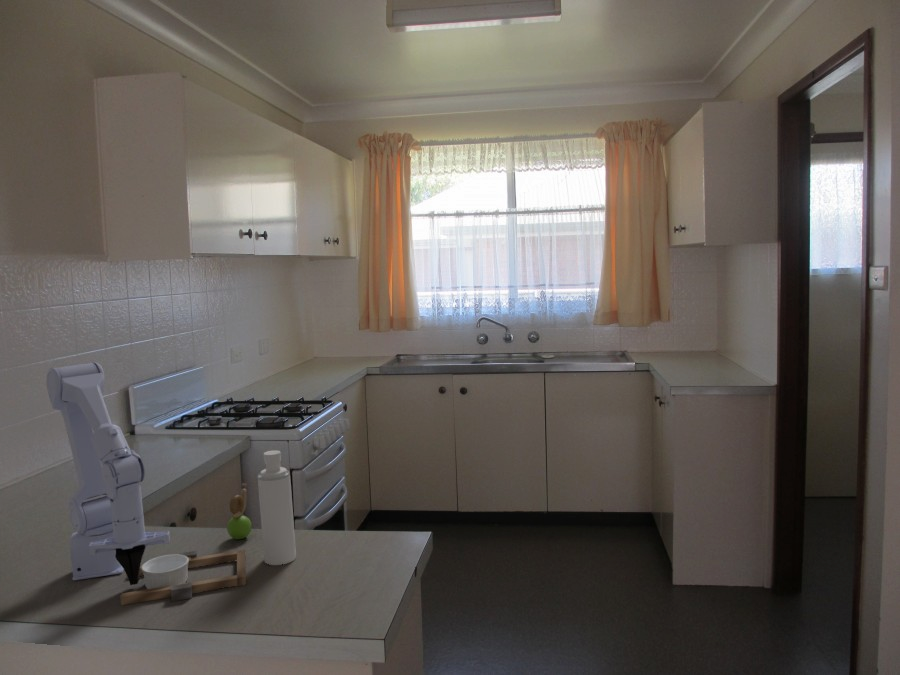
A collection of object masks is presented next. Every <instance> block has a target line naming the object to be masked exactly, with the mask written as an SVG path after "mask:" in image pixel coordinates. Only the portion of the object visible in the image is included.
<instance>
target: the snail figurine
mask: <svg viewBox="0 0 900 675" xmlns="http://www.w3.org/2000/svg"><path fill="white" fill-rule="evenodd" d="M241 486H242V489H241V490H240V493H241V495H239V494H235V495H234V496H232V498H231V499H230V502H229V511H230V513H231V519H229V521H228V522H227V525H226V530H227V534H228V535H229V536H230V538H233V539H234V540H243V539H245V538H246V537H248V536H249V535H250V533H251V531H252V521H251V520H250V518H249V517H248V516H245V515H243V513H244V512H245V511H246V507H247V491H248V490H247V488H244V487H247V483H241Z"/></svg>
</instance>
